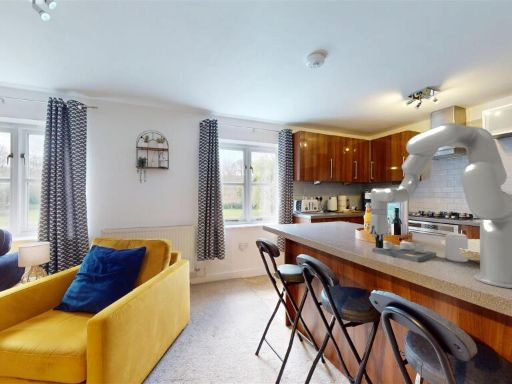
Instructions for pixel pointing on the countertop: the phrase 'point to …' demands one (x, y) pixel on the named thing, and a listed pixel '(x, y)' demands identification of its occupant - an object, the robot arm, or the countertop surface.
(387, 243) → the knob
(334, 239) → the countertop surface
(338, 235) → the countertop surface
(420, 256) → the switch panel
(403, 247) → the knob
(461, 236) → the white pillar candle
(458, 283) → the countertop surface
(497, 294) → the countertop surface
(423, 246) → the knob
